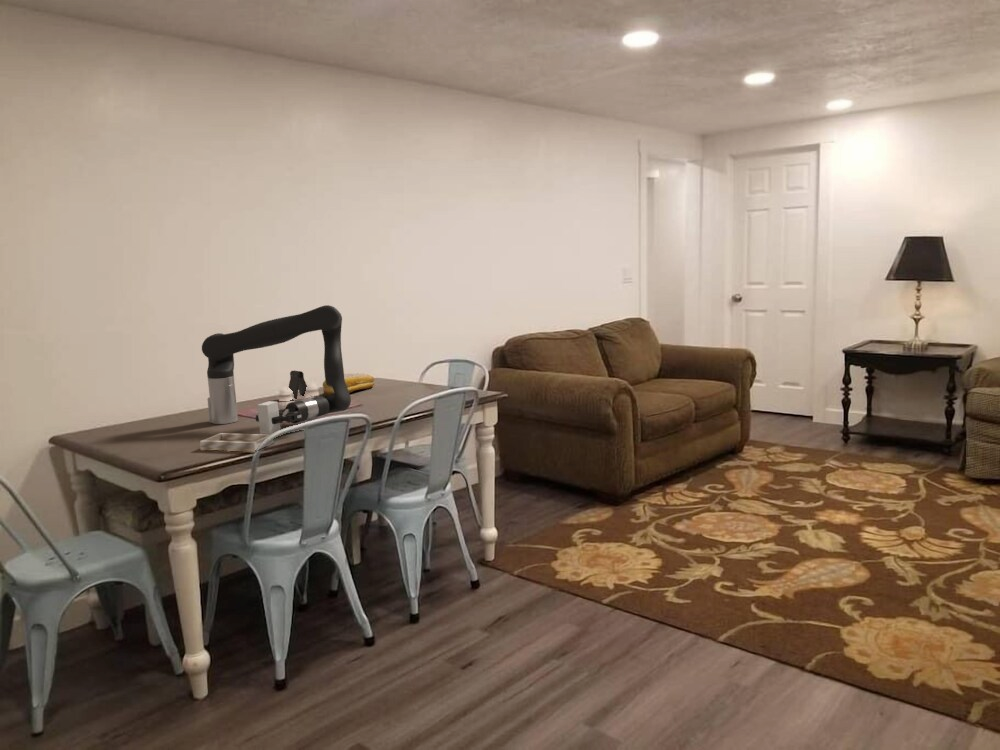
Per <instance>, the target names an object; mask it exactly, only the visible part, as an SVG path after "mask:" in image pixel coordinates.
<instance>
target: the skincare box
mask: <svg viewBox="0 0 1000 750" xmlns="http://www.w3.org/2000/svg"><path fill="white" fill-rule="evenodd" d="M278 403H279V402H278V401H269V400H268V401H265V402H262V403H259V404H257V405H256V408H257V415H258V417H259V422H258V427H259V434H265V435H270V434H272V433H274V432H276V431H278V430H280V429H281V423H277V424H272V418H273V417H277V416H279V404H278Z"/></svg>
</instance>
